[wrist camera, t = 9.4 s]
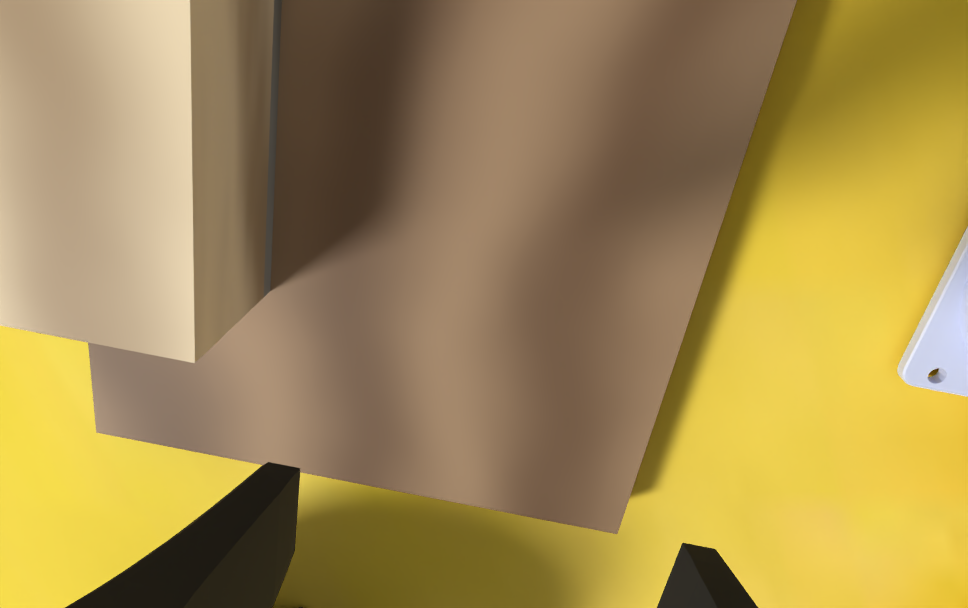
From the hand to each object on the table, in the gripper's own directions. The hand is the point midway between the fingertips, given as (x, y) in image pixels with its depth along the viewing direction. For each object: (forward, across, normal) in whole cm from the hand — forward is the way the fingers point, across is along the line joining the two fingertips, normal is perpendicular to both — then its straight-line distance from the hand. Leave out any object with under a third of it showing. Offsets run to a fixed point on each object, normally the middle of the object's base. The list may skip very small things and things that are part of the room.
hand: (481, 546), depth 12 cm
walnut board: (+9, +4, -5) cm, 11 cm away
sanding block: (+8, +10, -5) cm, 14 cm away
